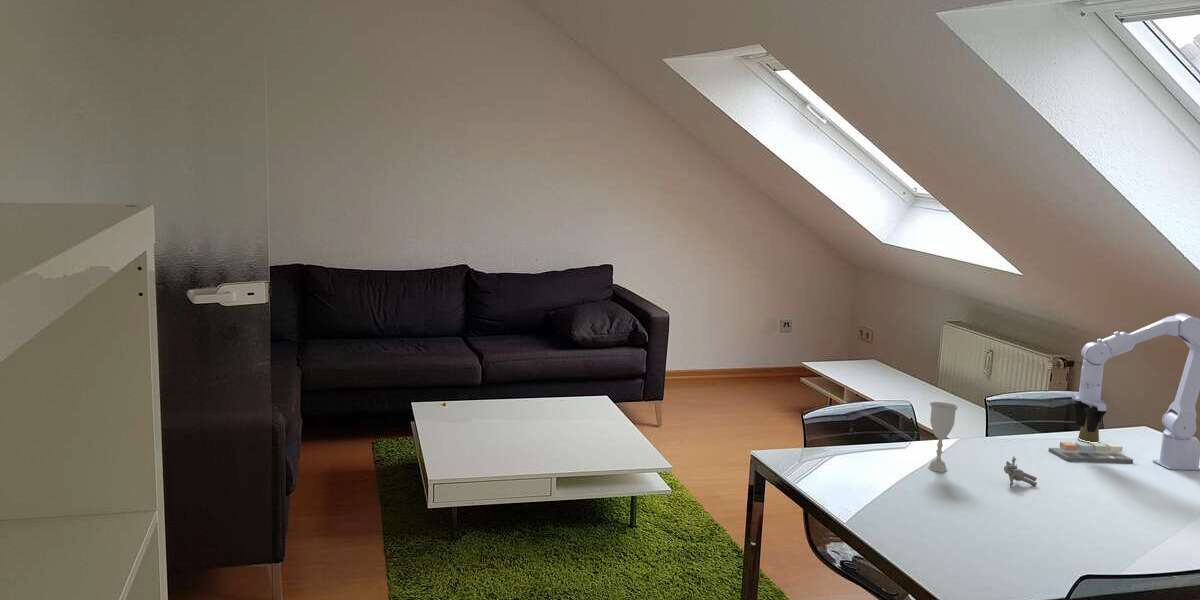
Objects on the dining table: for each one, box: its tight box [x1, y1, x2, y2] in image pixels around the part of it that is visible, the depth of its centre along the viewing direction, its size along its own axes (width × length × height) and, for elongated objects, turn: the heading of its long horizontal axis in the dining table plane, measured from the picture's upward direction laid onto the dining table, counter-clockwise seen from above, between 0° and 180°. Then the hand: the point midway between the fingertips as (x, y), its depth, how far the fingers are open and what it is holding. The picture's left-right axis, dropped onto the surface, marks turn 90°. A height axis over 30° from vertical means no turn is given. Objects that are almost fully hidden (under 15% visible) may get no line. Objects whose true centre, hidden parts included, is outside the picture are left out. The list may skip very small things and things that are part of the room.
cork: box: [1077, 407, 1100, 442], centre depth 303 cm, size 6×6×11 cm
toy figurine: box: [1003, 456, 1038, 488], centre depth 255 cm, size 10×6×9 cm
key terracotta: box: [1058, 441, 1077, 451], centre depth 285 cm, size 3×3×2 cm
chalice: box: [927, 401, 959, 473], centre depth 265 cm, size 7×7×18 cm
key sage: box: [1089, 442, 1108, 452], centre depth 285 cm, size 3×3×2 cm
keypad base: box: [1048, 447, 1134, 464], centre depth 285 cm, size 20×10×1 cm, turn 94°
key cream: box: [1104, 442, 1123, 453], centre depth 285 cm, size 3×3×2 cm
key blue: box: [1074, 441, 1092, 451], centre depth 285 cm, size 3×3×2 cm
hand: (1085, 428), depth 284 cm, fingers open, 5 cm apart
